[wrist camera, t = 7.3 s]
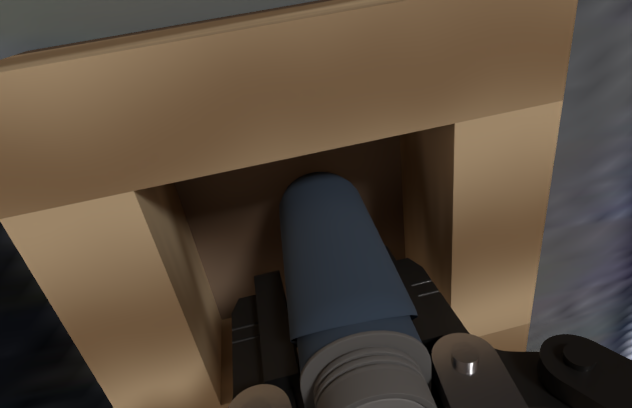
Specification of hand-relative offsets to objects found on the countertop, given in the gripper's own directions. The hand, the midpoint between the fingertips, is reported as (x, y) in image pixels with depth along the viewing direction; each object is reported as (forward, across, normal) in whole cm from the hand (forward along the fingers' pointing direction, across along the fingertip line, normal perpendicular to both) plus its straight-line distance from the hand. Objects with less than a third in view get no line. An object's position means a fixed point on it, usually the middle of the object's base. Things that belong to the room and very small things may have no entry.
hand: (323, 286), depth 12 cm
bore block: (+5, 0, 0) cm, 5 cm away
